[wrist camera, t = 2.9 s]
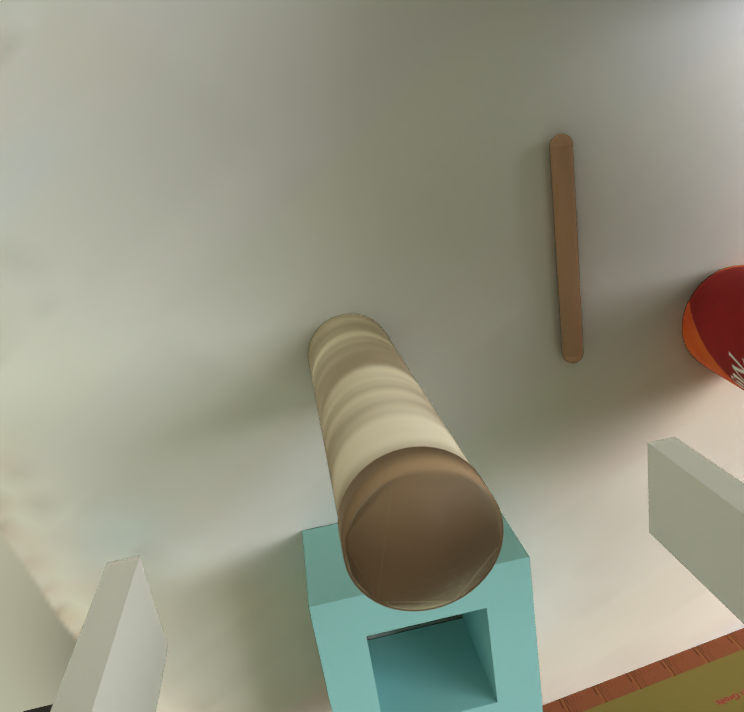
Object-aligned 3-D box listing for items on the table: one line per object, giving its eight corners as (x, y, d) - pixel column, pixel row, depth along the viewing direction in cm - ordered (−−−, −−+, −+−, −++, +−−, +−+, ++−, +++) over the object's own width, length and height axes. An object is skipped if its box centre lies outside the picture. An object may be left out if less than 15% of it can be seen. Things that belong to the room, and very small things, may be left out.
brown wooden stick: (545, 136, 30) (554, 135, 29) (566, 132, 30) (576, 131, 29) (559, 361, 33) (568, 367, 32) (578, 357, 33) (587, 363, 32)
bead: (302, 530, 34) (308, 607, 28) (486, 490, 35) (529, 556, 29) (334, 680, 37) (346, 776, 31) (503, 640, 38) (544, 725, 32)
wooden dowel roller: (299, 321, 30) (329, 487, 15) (385, 305, 31) (496, 452, 16) (315, 401, 32) (356, 627, 17) (397, 385, 32) (510, 591, 17)
